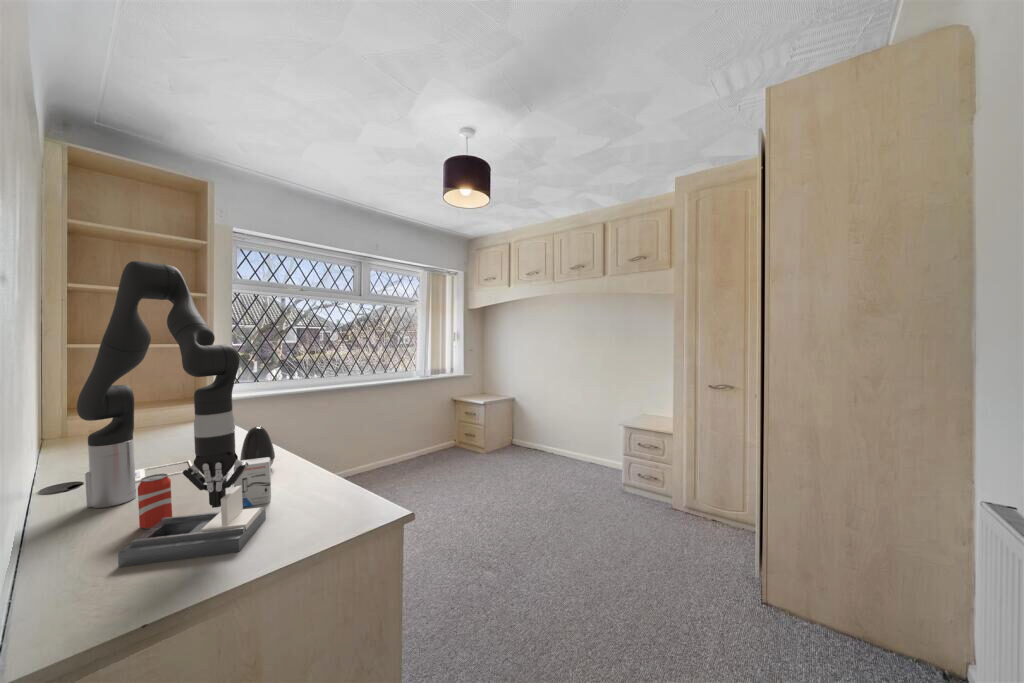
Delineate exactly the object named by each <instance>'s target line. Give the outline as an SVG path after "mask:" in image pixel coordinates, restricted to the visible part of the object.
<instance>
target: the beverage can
mask: <svg viewBox="0 0 1024 683" xmlns="http://www.w3.org/2000/svg"><path fill="white" fill-rule="evenodd" d="M168 474H169V473H156V474H151V475H147V476H145V477H144V478H142V479H141V480H140V481H141V482H139V484H138V486H137V502H138V520H139V528H141V529H142V528H143V529H146V530H149V529H151V528H152V527H153V526H155V525H156V524H157V523H159V522H160V521H161V520H162V519H163V518H166V517H173V503H172V482H171V481H172V480H171V478H170V476H167V475H168Z"/></svg>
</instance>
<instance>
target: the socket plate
mask: <svg viewBox="0 0 1024 683" xmlns="http://www.w3.org/2000/svg"><path fill="white" fill-rule="evenodd" d="M259 508H261V513H260V514H259V515H258V516H257V518H256V519H255V520H254V521H253V522H252V523H251V525H250V526H249V527H248V528H247V529H246V530H245V527H239V528H230V529H222V530H213V531H204V532H201V529H202V528H203V527H204V526H206V525H207V524H208V523H209V522H210V521H211V520H212V519H213V518H214V517H215V516H216V515H218V514H219V513H220V512H221V511H215V512H214V511H213V512H205V513H195V514H187V515H186V514H185V515H177V516H172V517H166V518H163V519H162V520H161V521H160V522H159V523H157V524H156V525H155V526H153V527H152V528H151V529H147V530H146V531H145V532H144V533H142V534H141V535H140V536H139V537H137V538H136V539H133V540H131V542H130V543H129V544H128V545H126V546H125V547H124V548H122V549H121V550H119V551H118V552H117V560H118V561H117V563H118V568H122V567H131V566H139V565H148V564H155V563H163V562H170V561H179V560H185V559H193V558H194V559H195V558H202V557H209V556H210V557H211V556H219V555H224V554H225V555H226V554H234V553H240V552H241V550H242V549H243V548H244V547H245V545H247V543H248V541H250V539H251V538H252V537H253V535H255V533H256V532H257V530H259V528H260V527H261V526H262V524H263V523H264V522H265V520H266V519H267V513H266V510H267V509H266V507H265V506H264V507H263V506H262V507H261V506H260V507H259Z"/></svg>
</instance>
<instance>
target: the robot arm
mask: <svg viewBox="0 0 1024 683" xmlns="http://www.w3.org/2000/svg"><path fill="white" fill-rule="evenodd" d="M116 293H117V294H116V297H115V298H116V299H115V302H114V305H113V306H114V307H113V311H112V314H111V316H110V319H109V322H108V324H107V327H106V329H105V332H104V334H103V337H102V340H101V342H100V345H99V349H98V352H97V356H96V358H95V361H94V364H93V366H92V369H91V371H90V373H89V375H88V377H87V379H86V381H85V383H84V384H83V387H82V388H81V391H80V393H79V395H78V397H77V401H76V413H77V414H78V416H79V418H81V420H84V421H87V422H88V421H89V422H93V421H102V420H106V419H107V420H109V419H111V421H110V422H109V423H108V424H107V425H106V426H103V427H102V428H100V429H98V430H95V431H94V432H92V433H90V434H89V435H88V436H87V445H88V446H87V450H88V454H87V455H88V468H89V469H88V471H87V472H86V473H85V474H84V475H85V476H84V479H85V480H84V481H85V497H86V498H85V499H86V507H87V508H95V509H98V508H99V509H100V508H101V509H102V508H108V507H109V508H110V507H113V506H118V505H121V504H124V503H128V502H130V501H132V500H134V499H135V498H136V497H137V493H136V491H137V488H136V483H135V470H136V468H135V467H136V466H135V446H134V444H135V443H134V431H135V394H134V392H133V389H132V388H131V387H130V386H129V385H127V384H116V385H115V383H116V382H117V381H119V379H121V378H122V377H124V376H125V375H127V374H128V373H129V372H131V371H133V369H135V368H136V367H137V366H139V365H140V364H141V363H142V362H143V361H144V359H145V357H146V354H147V353H148V350H149V347H150V344H151V341H152V337H151V333H150V330H149V329H148V326H147V325H146V323H145V322H144V320H143V319H142V317H141V315H140V314H139V311H138V308H139V307H138V306H139V303H140V302H141V300H144V299H145V300H156V301H169V302H171V304H172V308H171V309H170V310H169V311H168V312H169V313H168V315H167V318H166V325H167V326H166V327H167V329H168V331H169V333H170V334H171V335H172V337H173V338H174V340H175V342H176V343H177V344H178V348H179V352H180V356H181V364H182V369H183V370H184V372H185V373H186V374H188V375H189V376H191V377H194V378H204V377H214V376H215V377H214V378H215V379H214V380H213V382H212V383H211V384H208V385H206V386H202V387H200V388H197V389H195V391H194V393H193V404H194V405H193V406H194V408H193V409H194V419H193V420H194V421H193V434H194V435H193V437H194V454H195V458H194V459H193V463H192V466H191V467H190V466H189V467H187V468H186V469H184V470H183V473H182V475H183V476H184V477H185V478H186V479H187V480H188V481H189V482H190V483H192V484H193V486H195V487H196V488H197V489H198V490H199V491H206V492H208V503H209V506H211V508H212V509H213V508H221V499H222V498H223V497H224V496H225V495H226V494H227V493H226V491H227V490H226V489H228V488H231V486H234V483H235V482H236V480H237V479H238V478H239V477H240V475H241V474H242V473H243V472H244V470H245V469H246V468H247V466H248V463H247V462H244V463H243V462H241V461H240V459H238V458H239V456H238V455H237V453H236V435H235V434H236V431H235V430H236V425H235V418H234V412H233V389H234V387H235V386H234V385H235V381H236V378H237V375H238V371H239V368H240V363H241V362H240V360H241V359H240V354H239V352H238V351H237V349H236V348H235V347H234V346H233V345H231V344H214V342H215V340H216V339H215V334H214V331H213V330H212V329H211V328H210V326H209V325H208V323H207V322H206V321H205V319H204V318H203V317H202V315H201V314H200V311H199V310H198V309H197V307H196V303H195V301H194V300H193V297H192V294H191V291H190V289H189V287H188V284H187V282H186V280H185V278H184V276H183V275H182V273H181V271H180V270H179V269H178V268H177V267H175V266H173V265H169V264H163V263H156V262H148V261H141V260H133V261H129V262H128V263H126V265H125V266H124V267H123V270H122V273H121V276H120V280H119V285H118V290H117V292H116ZM113 384H114V385H113ZM234 465H235V467H234ZM232 468H233V474H232V475H231V476H230V477H229V478H228V476H229V472H230V471H231V470H232ZM234 470H235V472H234Z"/></svg>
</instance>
